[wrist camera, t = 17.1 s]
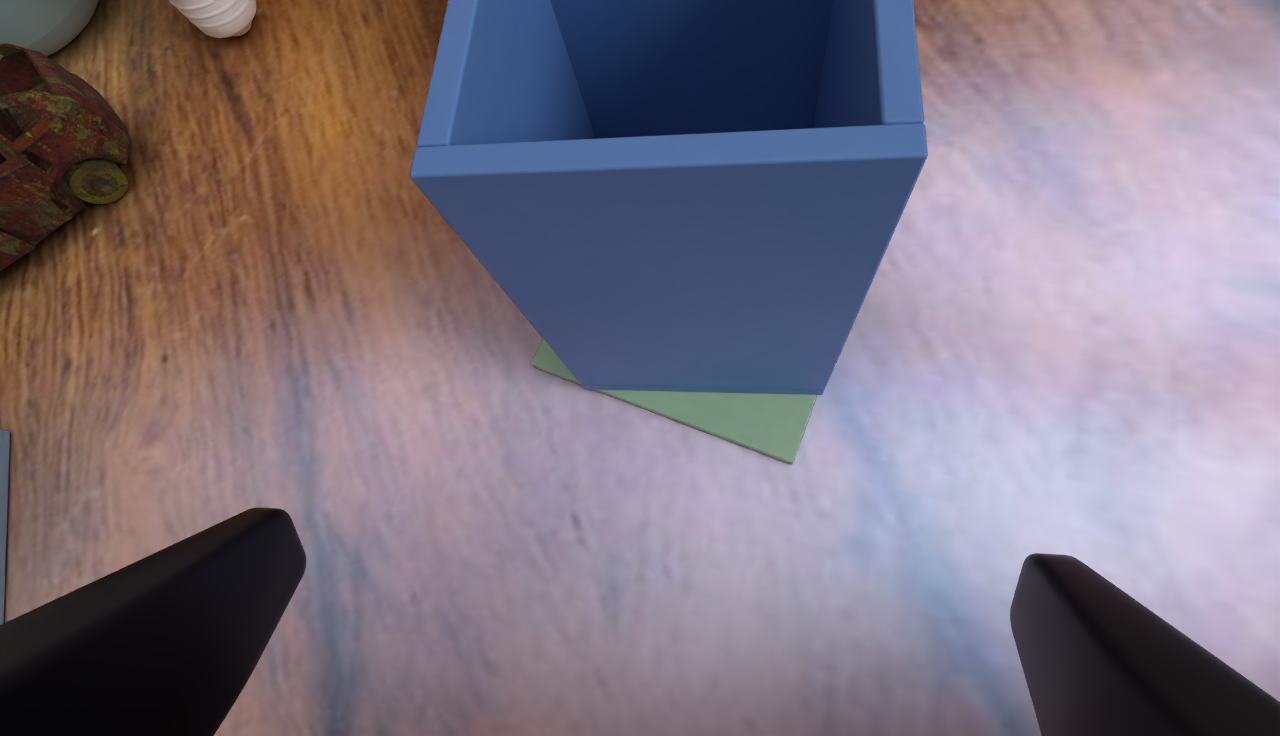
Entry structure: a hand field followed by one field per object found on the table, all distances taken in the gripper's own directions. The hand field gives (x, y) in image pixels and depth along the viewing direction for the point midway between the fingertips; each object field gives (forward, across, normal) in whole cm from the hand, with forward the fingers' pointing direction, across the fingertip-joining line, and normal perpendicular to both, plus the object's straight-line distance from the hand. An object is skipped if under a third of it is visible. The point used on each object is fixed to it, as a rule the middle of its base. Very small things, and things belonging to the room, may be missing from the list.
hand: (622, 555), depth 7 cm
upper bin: (+12, 0, +1) cm, 12 cm away
